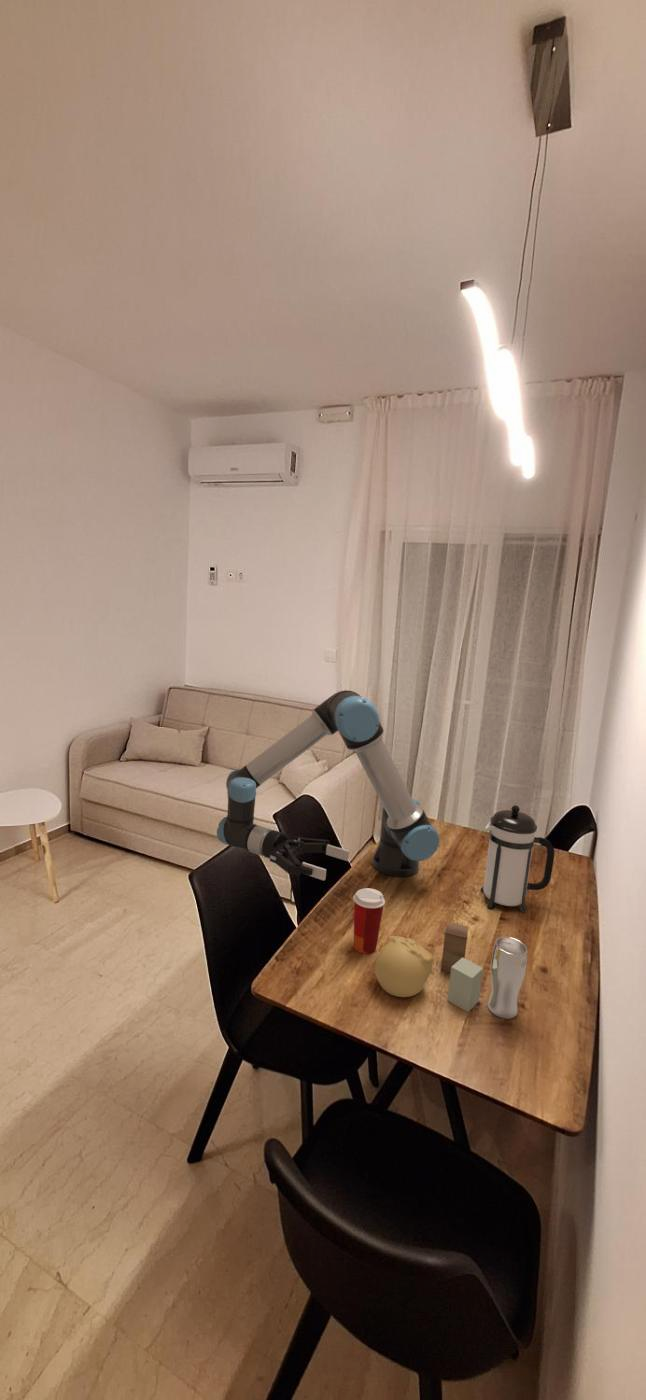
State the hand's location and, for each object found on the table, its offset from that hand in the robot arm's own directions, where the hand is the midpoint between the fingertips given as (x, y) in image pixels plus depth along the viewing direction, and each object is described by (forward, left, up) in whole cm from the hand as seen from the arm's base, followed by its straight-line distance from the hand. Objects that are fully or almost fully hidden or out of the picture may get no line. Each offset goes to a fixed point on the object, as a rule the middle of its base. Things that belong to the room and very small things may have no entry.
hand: (337, 865), depth 145 cm
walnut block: (0, +32, -17) cm, 36 cm away
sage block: (+10, +37, -17) cm, 42 cm away
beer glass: (+8, +45, -17) cm, 49 cm away
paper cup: (+4, +11, -17) cm, 21 cm away
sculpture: (+13, +23, -17) cm, 32 cm away
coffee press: (-41, +38, -17) cm, 59 cm away
